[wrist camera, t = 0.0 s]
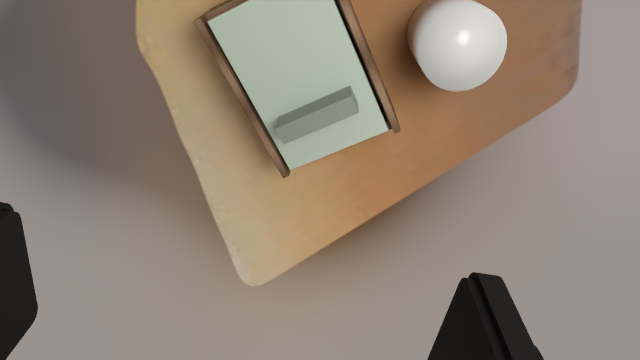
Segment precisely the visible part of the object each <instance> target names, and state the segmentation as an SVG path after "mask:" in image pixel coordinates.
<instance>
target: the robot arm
mask: <svg viewBox="0 0 640 360" xmlns="http://www.w3.org/2000/svg"><path fill="white" fill-rule="evenodd" d="M37 310H38V306H37V301H36V295H35V289H34V284H33V279H32V274H31V268H30V264H29V258H28V253H27V247H26V242H25V237H24V232H23V226H22V221H21V217H20V215H19V213H17V212H14V211H13V208H12V207H11V205H10V204H7V203H2V202H0V360H6V358H7V357H8V356H9V354H10V353H11V352H12V350H13V349H14V348H15V346H16V345H17V343H18V342H19V341H20V340H21V338H22V337H23V336H24V334H25V333H26V332H27V330H28V329H29V328H30V326H31V325H32V324H33V322H34V320H35V318H36V315H37ZM428 360H544V359H543V357H542V355H541V353H540V352H539V350H538V349H537V347H536V346H534V344H533V342H532V340H531V338H530V336H529V334H528V332H527V330H526V327H525V326H524V323H523V321H522V319H521V317H520V315H519V313H518V311H517V309H516V306H515V304H514V302H513V300H512V298H511V296H510V294H509V292H508V290H507V287H506V285H505V283H504V282H503V280H502V278H501V277H499V276H495V275H488V274H481V273H475V272H474V273H472V274H470V275H469V277H468V278H462V279H461V281H460V283H459V285H458V287H457V290H456V292H455V294H454V297H453V299H452V301H451V304H450V306H449V309H448V311H447V313H446V316H445V318H444V321H443V323H442V326H441V328H440V330H439V333H438V335H437V338H436V340H435V342H434V345H433V347H432V350H431V352H430V354H429V357H428Z"/></svg>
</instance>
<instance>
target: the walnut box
mask: <svg viewBox="0 0 640 360" xmlns="http://www.w3.org/2000/svg"><path fill="white" fill-rule="evenodd" d="M245 1H247V0H228V1H226V2H224V3H222V4H220V5H218V6H216V7H214V8H212V9H210V10H209V11H208V12H206V13H205V14H203V15H202V16H200V17H199V18H198V19H196V20H195V21H194V23H195V25H196V27H197V28H198V30H199V32H200V34H201V35H202V37H203V39H204V41H205V42H206V44H207V46H208V47H209V49H210V51H211V53H212V54H213V56H214V58H215V60H216V61H217V63H218V65H219V67H220V68H221V70H222V72H223V74H224V75H225V77H226V79H227V81H228V82H229V84H230V86H231V88H232V89H233V91H234V93H235V95H236V96H237V98H238V100H239V102H240V103H241V105H242V107H243V109H244V110H245V112H246V114H247V116H248V117H249V119H250V121H251V123H252V124H253V126H254V128H255V130H256V131H257V133H258V135H259V137H260V138H261V140H262V142H263V144H264V145H265V147H266V149H267V151H268V152H269V154H270V156H271V158H272V159H273V161H274V163H275V165H276V166H277V168H278V170H279V172H280V173H281V175H282V177H283V178H285V177H287V176H289V172H290V169H289V167H288V165H287V164H286V162H285V160H284V158H283V156H282V155H281V153H280V151H279V149H278V148H277V146H276V144H275V142H274V140H273V139H272V137H271V135H270V133H269V131H268V130H267V128H266V126H265V124H264V122H263V121H262V119H261V117H260V115H259V114H258V112H257V110H256V108H255V106H254V105H253V103H252V101H251V99H250V97H249V96H248V94H247V92H246V90H245V88H244V87H243V85H242V83H241V81H240V80H239V78H238V76H237V74H236V72H235V71H234V69H233V67H232V65H231V63H230V62H229V60H228V58H227V56H226V55H225V53H224V51H223V49H222V47H221V46H220V44H219V42H218V40H217V38H216V37H215V35H214V33H213V31H212V29H211V28H210V26H209V24H208V21H209V20H210V19H212V18H214V17H216V16H218V15H220V14H222V13H224V12H226V11H228V10H230V9H232V8H234V7H236V6H238V5H240V4H241V3H243V2H245ZM334 1H335V3H336V6H337V8H338V10H339V13H340V15H341V17H342V20H343V22H344V25H345V27H346V29H347V32H348V34H349V36H350V39H351V41H352V43H353V46H354V48H355V51H356V53H357V55H358V58H359V60H360V62H361V65H362V67H363V70H364V72H365V74H366V77H367V79H368V81H369V84H370V86H371V88H372V91H373V93H374V96H375V98H376V100H377V103H378V105H379V107H380V110H381V112H382V115H383V117H384V119H385V122H386V124H387V126H388V130H390V129H392V128H393V131H394V133H397V132H399V131H401V130H400V127H399V123H398V120H397V117H396V114H395V111H394V108H393V105H392V103H391V100H390V98H389V96H388V93H387V91H386V88H385V86H384V83H383V81H382V78H381V76H380V73H379V71H378V69H377V66H376V64H375V61H374V59H373V56H372V54H371V51H370V49H369V46H368V44H367V41H366V39H365V37H364V34H363V32H362V29H361V27H360V24H359V22H358V19H357V17H356V14H355V12H354V10H353V7H352V5H351V2H350V0H334Z"/></svg>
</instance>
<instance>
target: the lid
mask: <svg viewBox="0 0 640 360" xmlns="http://www.w3.org/2000/svg"><path fill="white" fill-rule="evenodd" d="M208 24H209V26H210V28H211V29H212V31H213V33H214V35H215V37H216V38H217V40H218V42H219V44H220V46H221V47H222V49H223V51H224V53H225V55H226V56H227V58H228V60H229V62H230V63H231V65H232V67H233V69H234V71H235V72H236V74H237V76H238V78H239V80H240V81H241V83H242V85H243V87H244V88H245V90H246V92H247V94H248V96H249V97H250V99H251V101H252V103H253V105H254V106H255V108H256V110H257V112H258V114H259V115H260V117H261V119H262V121H263V122H264V124H265V126H266V128H267V130H268V131H269V133H270V135H271V137H272V139H273V140H274V142H275V144H276V146H277V148H278V149H279V151H280V153H281V155H282V156H283V158H284V160H285V162H286V164H287V165H288V167H289V169H290V170H292V169H295V168H297V167H299V166H302V165H304V164H307V163H309V162H312V161H314V160H317V159H319V158H322V157H324V156H327V155H329V154H332V153H334V152H336V151H339V150H341V149H344V148H346V147H349V146H351V145H354V144H356V143H359V142H361V141H364V140H366V139H369V138H371V137H373V136H376V135H378V134H381V133H383V132H386V131H388V126H387V124H386V122H385V119H384V117H383V115H382V112H381V110H380V107H379V105H378V103H377V100H376V98H375V96H374V93H373V91H372V88H371V86H370V84H369V81H368V79H367V77H366V74H365V72H364V70H363V67H362V65H361V62H360V60H359V58H358V55H357V53H356V51H355V48H354V46H353V43H352V41H351V39H350V36H349V34H348V32H347V29H346V27H345V25H344V22H343V20H342V17H341V15H340V13H339V10H338V8H337V6H336V3H335V1H334V0H247V1H245V2H243V3H241V4H240V5H238V6H236V7H234V8H232V9H230V10H228V11H226V12H224V13H222V14H220V15H218V16H216V17H214V18H212V19H210V20H209V21H208Z"/></svg>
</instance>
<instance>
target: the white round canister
mask: <svg viewBox="0 0 640 360" xmlns="http://www.w3.org/2000/svg"><path fill="white" fill-rule="evenodd" d="M407 41H408V45H409V48H410V51H411V52H412V54H413V56H414V57H415V59H416V61H417V62H418V64H419V66H420V67H421V69H422V71H423V72H424V74H425V76H426V77H427V78H428V79H429V80H430V81H431V82H432V83H433V84H434V85H436V86H437V87H440V88H442V89H445V90H449V91H465V90H469V89H472V88H475V87H477V86H479V85H481V84H482V83H484V82H485V81H487V80H488V79H489V78H490V77H491V76H492V75H493V74H494V73H495V72H496V71H497V69H498V68H499V66H500V65H501V63H502V61H503V58H504V56H505V52H506V48H507V35H506V30H505V27H504V25H503V23H502V21H501V20H500V18H499V17H498V16H497V15H496V14H495V13H494V12H493V11H491V10H490V9H488V8H487V7H485V6H483V5H481V4H479V3H478V2H476V1H474V0H425V1H423V2H422V3H421V4H420V5H419V6H418V7H417V9H416V10H415V11H414V13H413V15H412V16H411V18H410V21H409V24H408V29H407Z"/></svg>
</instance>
